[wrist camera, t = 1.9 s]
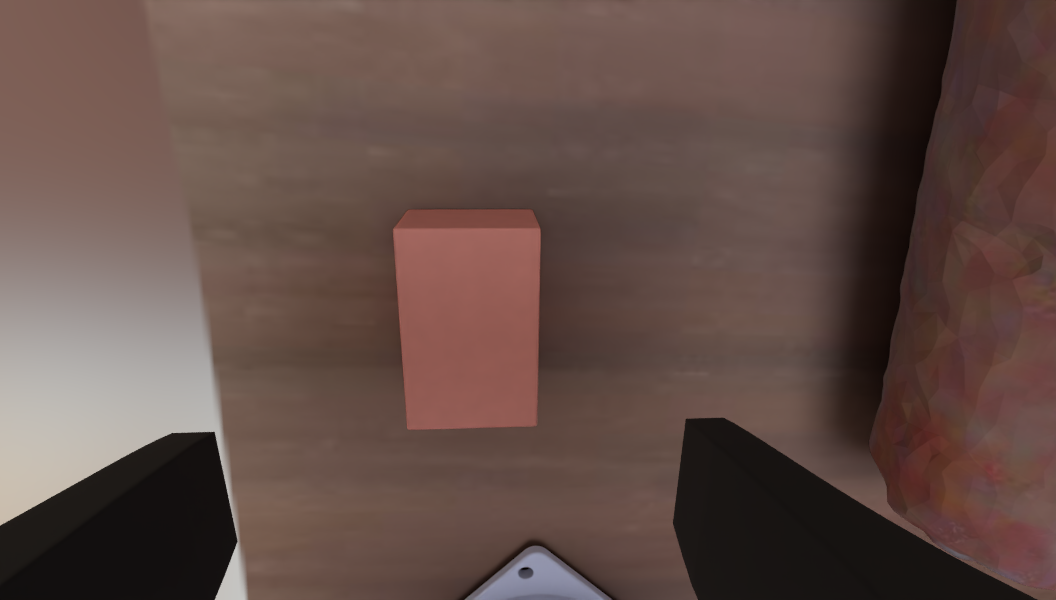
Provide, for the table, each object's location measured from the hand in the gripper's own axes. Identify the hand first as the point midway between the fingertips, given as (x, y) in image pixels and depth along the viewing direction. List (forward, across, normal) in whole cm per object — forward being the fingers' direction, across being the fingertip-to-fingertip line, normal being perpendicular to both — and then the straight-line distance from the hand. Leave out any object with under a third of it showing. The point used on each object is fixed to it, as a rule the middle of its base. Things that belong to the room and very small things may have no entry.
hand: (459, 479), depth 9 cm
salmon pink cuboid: (+8, 0, 0) cm, 8 cm away
